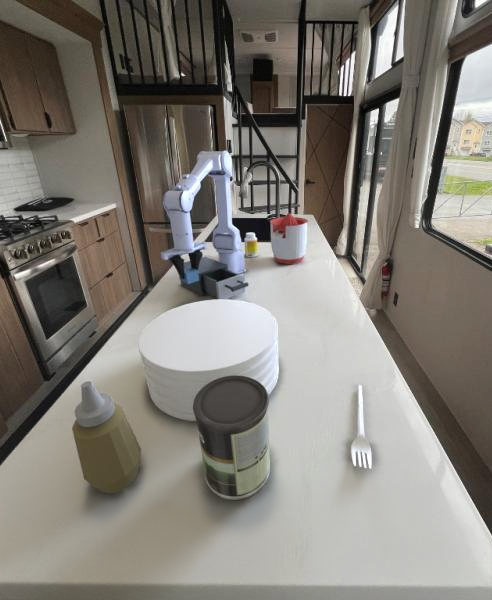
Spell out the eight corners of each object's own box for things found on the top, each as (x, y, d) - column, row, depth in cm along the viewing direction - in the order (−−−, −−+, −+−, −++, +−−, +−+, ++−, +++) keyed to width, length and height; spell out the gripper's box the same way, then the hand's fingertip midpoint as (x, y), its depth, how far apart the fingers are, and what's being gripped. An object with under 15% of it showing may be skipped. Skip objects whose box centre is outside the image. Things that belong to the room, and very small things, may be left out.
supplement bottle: (260, 255, 146) (259, 233, 142) (250, 258, 143) (248, 235, 139) (252, 253, 150) (251, 231, 146) (243, 255, 147) (241, 233, 143)
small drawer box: (229, 286, 116) (227, 264, 112) (201, 296, 109) (198, 273, 105) (208, 276, 125) (205, 256, 121) (181, 285, 118) (177, 264, 114)
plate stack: (184, 334, 87) (178, 295, 82) (287, 344, 81) (287, 303, 76) (120, 410, 62) (106, 361, 57) (262, 432, 57) (259, 380, 52)
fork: (368, 388, 66) (369, 381, 65) (372, 477, 48) (374, 469, 48) (351, 386, 67) (352, 379, 66) (350, 473, 49) (351, 465, 48)
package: (190, 276, 105) (189, 266, 103) (199, 280, 101) (197, 270, 100) (179, 280, 102) (178, 269, 101) (187, 284, 99) (186, 273, 97)
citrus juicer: (261, 263, 137) (259, 215, 128) (283, 252, 150) (283, 208, 141) (292, 270, 129) (293, 219, 120) (313, 258, 142) (315, 211, 133)
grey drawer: (254, 296, 105) (253, 278, 103) (228, 306, 99) (227, 287, 96) (223, 282, 117) (221, 265, 114) (198, 290, 110) (196, 273, 108)
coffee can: (201, 504, 46) (187, 432, 39) (208, 443, 55) (197, 377, 49) (274, 497, 46) (271, 425, 40) (268, 438, 55) (265, 372, 49)
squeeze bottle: (156, 461, 52) (133, 371, 44) (120, 509, 45) (84, 413, 37) (116, 447, 54) (87, 360, 47) (76, 492, 48) (34, 398, 40)
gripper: (166, 240, 88) (173, 286, 94) (210, 230, 97) (215, 273, 103) (154, 236, 93) (162, 280, 99) (198, 227, 102) (203, 267, 108)
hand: (188, 276), depth 101 cm, fingers closed on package, 4 cm apart
